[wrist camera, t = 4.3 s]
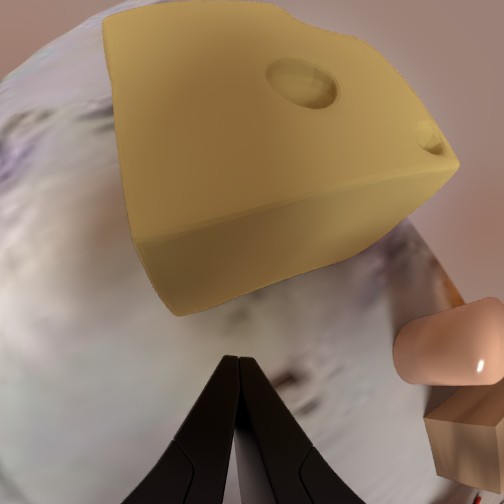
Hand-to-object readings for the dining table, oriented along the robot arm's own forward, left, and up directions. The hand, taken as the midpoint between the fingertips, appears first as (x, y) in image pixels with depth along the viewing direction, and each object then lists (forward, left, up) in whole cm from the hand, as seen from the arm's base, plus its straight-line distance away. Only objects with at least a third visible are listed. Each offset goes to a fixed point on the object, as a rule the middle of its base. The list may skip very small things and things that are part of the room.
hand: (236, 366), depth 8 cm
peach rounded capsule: (-1, -11, -6) cm, 13 cm away
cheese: (+8, -1, -7) cm, 11 cm away
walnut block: (-7, -14, -6) cm, 17 cm away
